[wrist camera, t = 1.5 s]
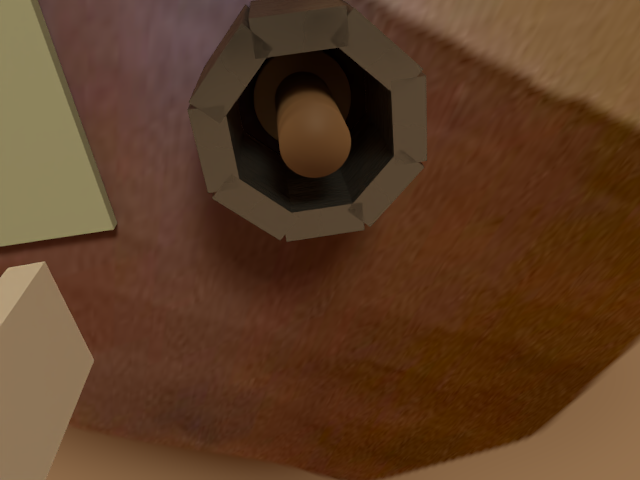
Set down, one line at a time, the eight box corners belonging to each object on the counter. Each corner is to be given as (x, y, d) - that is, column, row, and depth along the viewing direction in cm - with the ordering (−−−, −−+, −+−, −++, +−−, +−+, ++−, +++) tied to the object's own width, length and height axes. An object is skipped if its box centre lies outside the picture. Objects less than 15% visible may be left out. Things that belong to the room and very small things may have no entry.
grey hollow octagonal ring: (229, 190, 31) (222, 251, 25) (188, 9, 26) (167, 29, 20) (394, 166, 31) (427, 220, 25) (386, -18, 26) (425, -6, 20)
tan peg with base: (262, 147, 30) (263, 208, 23) (245, 52, 27) (241, 90, 20) (352, 134, 30) (380, 191, 23) (343, 39, 27) (373, 71, 20)
